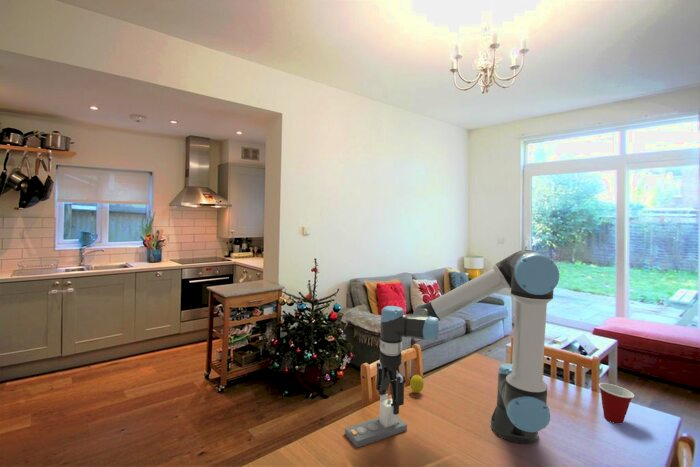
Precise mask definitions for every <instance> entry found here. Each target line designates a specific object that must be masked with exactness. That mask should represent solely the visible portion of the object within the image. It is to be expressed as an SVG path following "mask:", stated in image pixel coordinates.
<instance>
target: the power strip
mask: <svg viewBox="0 0 700 467" xmlns="http://www.w3.org/2000/svg"><path fill="white" fill-rule="evenodd" d="M407 430H408V424H407V423H406V422H405V421H403V420H402V418H400V417H399V416H398V425H395V426H392V427H389V428H386V429H385V428H384V427H383V426H382V425H381V424H380V423H379V417H374V418H373V419H369V420H366V421H362V422H360V423H355V424H353V425H350V426H346V427H345V428H344V434H345V435H346V436H347V438H348V439H349V440H350V441H351V443H352V444H353V445H354V446H355V447H356V448H360V447H362V446H363V447H364V446H366V445H368V444H371V443H375V442H377V441H381V440H383V439H386V438H389V437H391V436H394V435H398V434H400V433H403V432H407Z"/></svg>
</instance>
